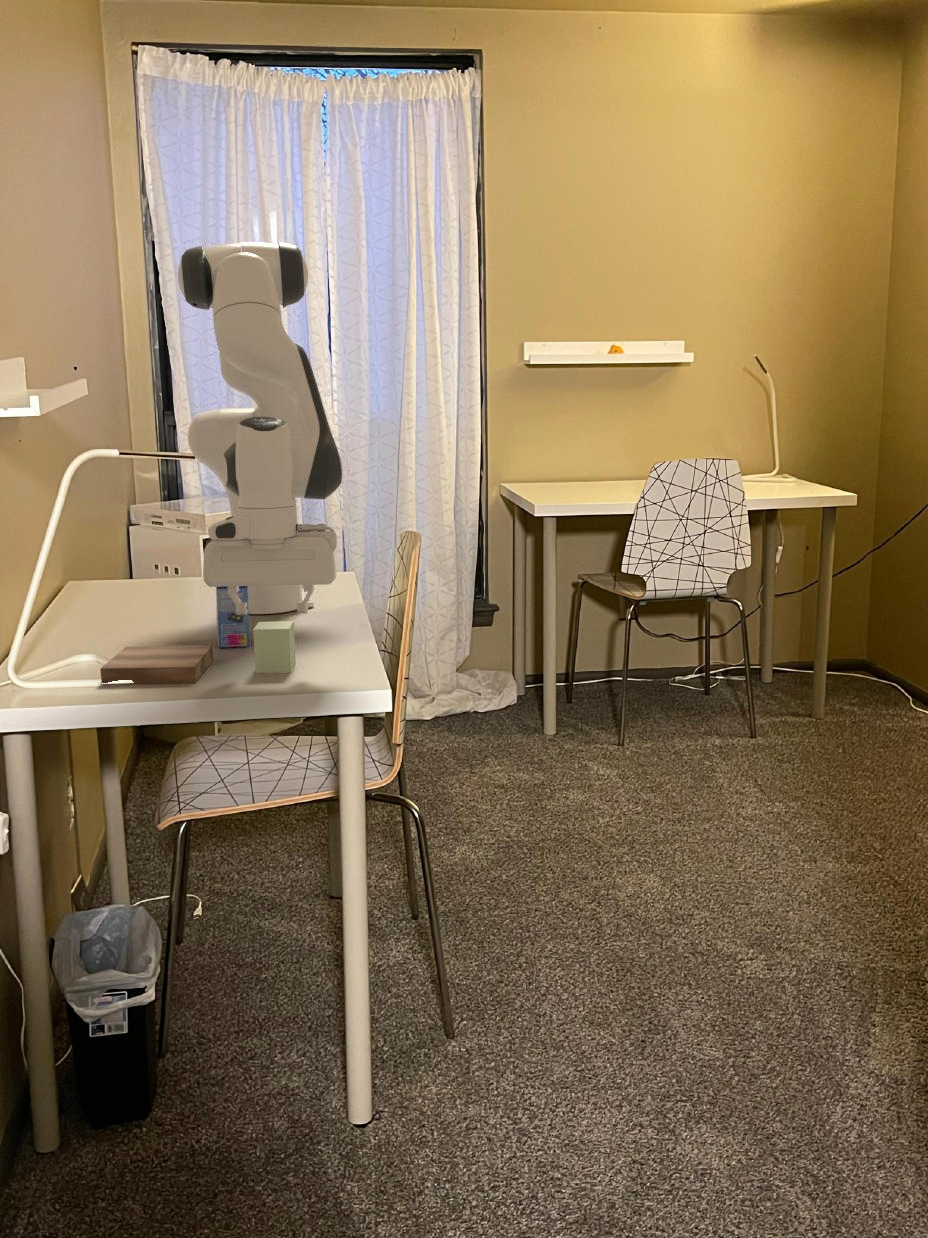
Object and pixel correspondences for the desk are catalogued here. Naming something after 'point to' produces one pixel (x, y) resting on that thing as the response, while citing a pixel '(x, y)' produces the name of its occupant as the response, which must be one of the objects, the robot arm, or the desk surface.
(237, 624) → the ink cartridge box
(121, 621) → the desk surface
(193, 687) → the desk surface
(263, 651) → the sage block
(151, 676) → the walnut base
